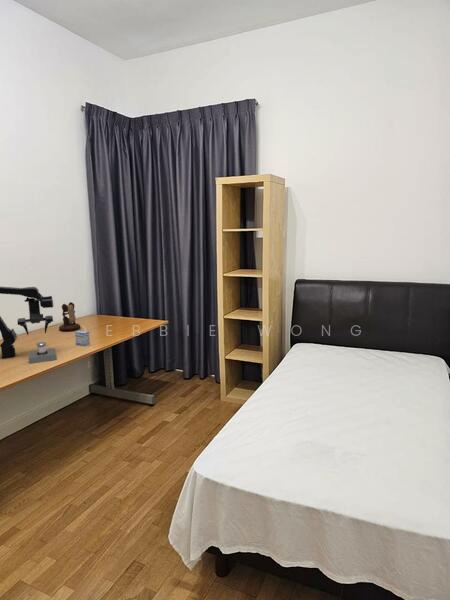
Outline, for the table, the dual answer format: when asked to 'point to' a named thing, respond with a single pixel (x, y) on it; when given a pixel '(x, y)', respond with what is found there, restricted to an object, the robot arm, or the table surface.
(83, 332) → the medicine box
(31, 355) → the socket block
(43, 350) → the silver flanged peg
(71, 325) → the brown figurine
